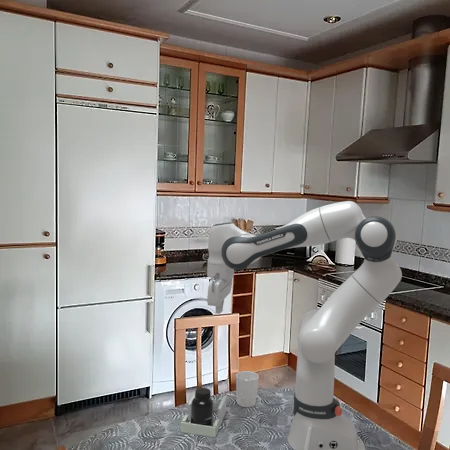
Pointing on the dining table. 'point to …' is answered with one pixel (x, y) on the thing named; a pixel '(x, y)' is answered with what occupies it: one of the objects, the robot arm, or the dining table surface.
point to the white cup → (246, 388)
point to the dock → (199, 428)
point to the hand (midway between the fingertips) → (219, 312)
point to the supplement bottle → (202, 407)
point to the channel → (220, 409)
